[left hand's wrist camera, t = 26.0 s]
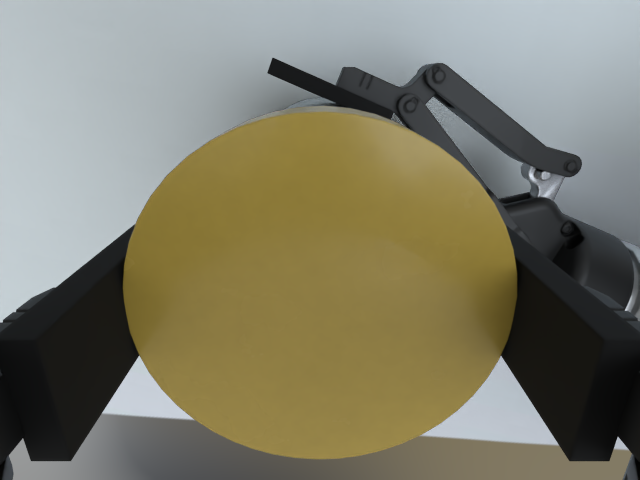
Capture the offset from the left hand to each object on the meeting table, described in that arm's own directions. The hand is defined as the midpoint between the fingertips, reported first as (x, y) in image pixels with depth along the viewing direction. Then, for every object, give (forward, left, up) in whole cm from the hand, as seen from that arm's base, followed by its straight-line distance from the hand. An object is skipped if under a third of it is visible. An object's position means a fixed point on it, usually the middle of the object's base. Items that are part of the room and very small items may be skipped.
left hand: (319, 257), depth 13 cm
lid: (0, 0, +3) cm, 3 cm away
